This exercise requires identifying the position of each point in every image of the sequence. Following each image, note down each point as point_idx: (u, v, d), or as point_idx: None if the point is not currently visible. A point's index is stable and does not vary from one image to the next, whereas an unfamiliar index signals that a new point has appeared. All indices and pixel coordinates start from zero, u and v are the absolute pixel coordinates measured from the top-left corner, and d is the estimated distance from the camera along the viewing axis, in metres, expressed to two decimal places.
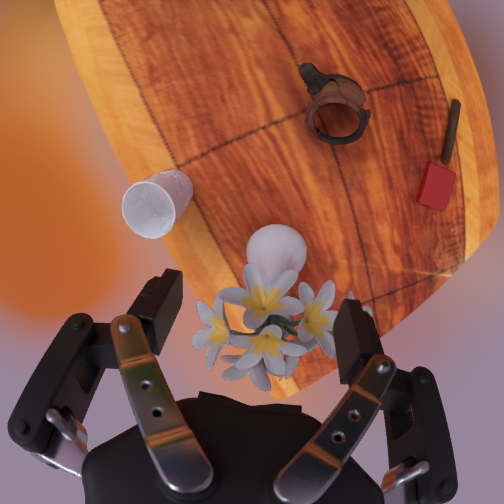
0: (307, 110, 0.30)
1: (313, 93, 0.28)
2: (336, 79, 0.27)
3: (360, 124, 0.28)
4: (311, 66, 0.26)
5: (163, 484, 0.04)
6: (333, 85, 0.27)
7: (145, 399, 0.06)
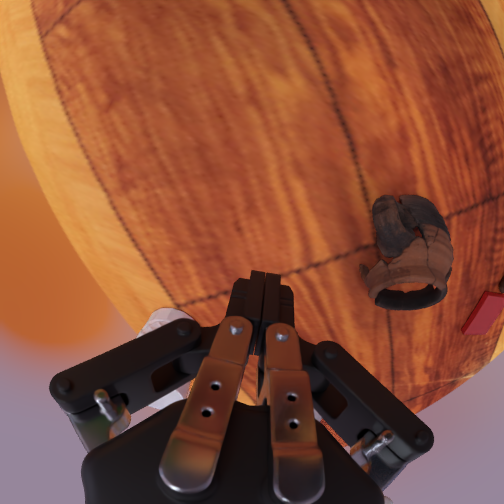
0: (371, 274, 0.21)
1: (387, 256, 0.19)
2: (424, 230, 0.17)
3: (437, 297, 0.19)
4: (396, 214, 0.17)
5: None
6: (421, 247, 0.17)
7: (206, 397, 0.06)
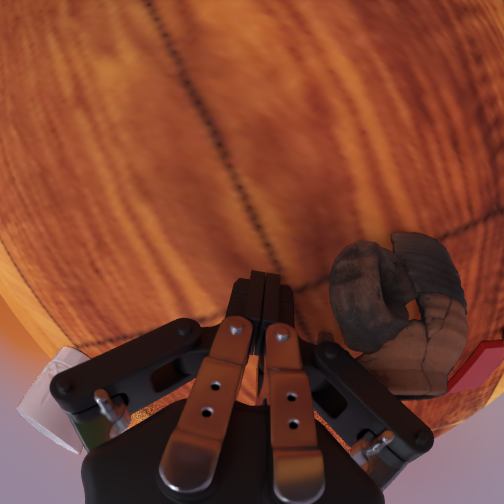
0: None
1: (354, 349, 0.10)
2: (427, 308, 0.09)
3: (429, 395, 0.11)
4: (375, 289, 0.08)
5: None
6: (415, 341, 0.09)
7: (206, 397, 0.06)
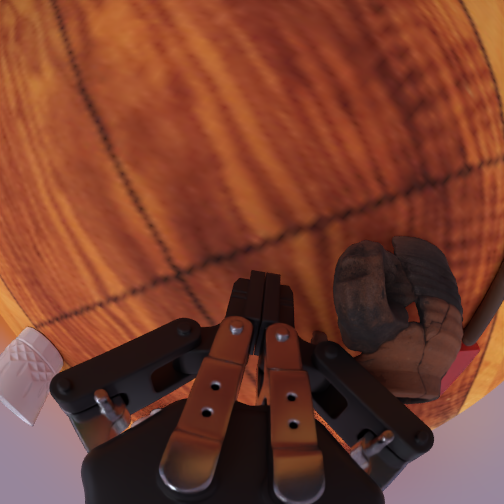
0: None
1: (352, 349, 0.11)
2: (427, 312, 0.10)
3: (421, 400, 0.11)
4: (380, 288, 0.08)
5: None
6: (414, 343, 0.09)
7: (206, 397, 0.06)
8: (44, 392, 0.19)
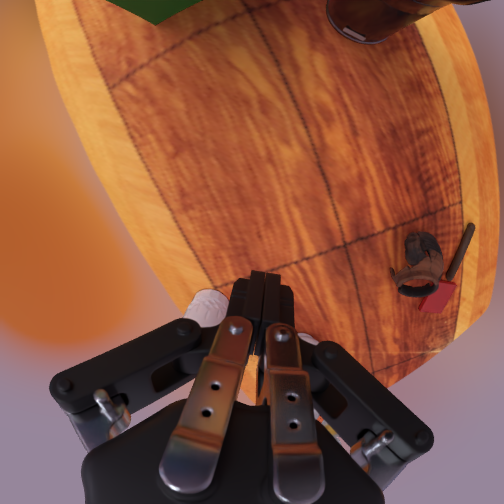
0: (400, 273, 0.36)
1: (411, 264, 0.34)
2: (430, 253, 0.33)
3: (433, 290, 0.35)
4: (419, 243, 0.32)
5: None
6: (428, 261, 0.33)
7: (206, 397, 0.06)
8: None
